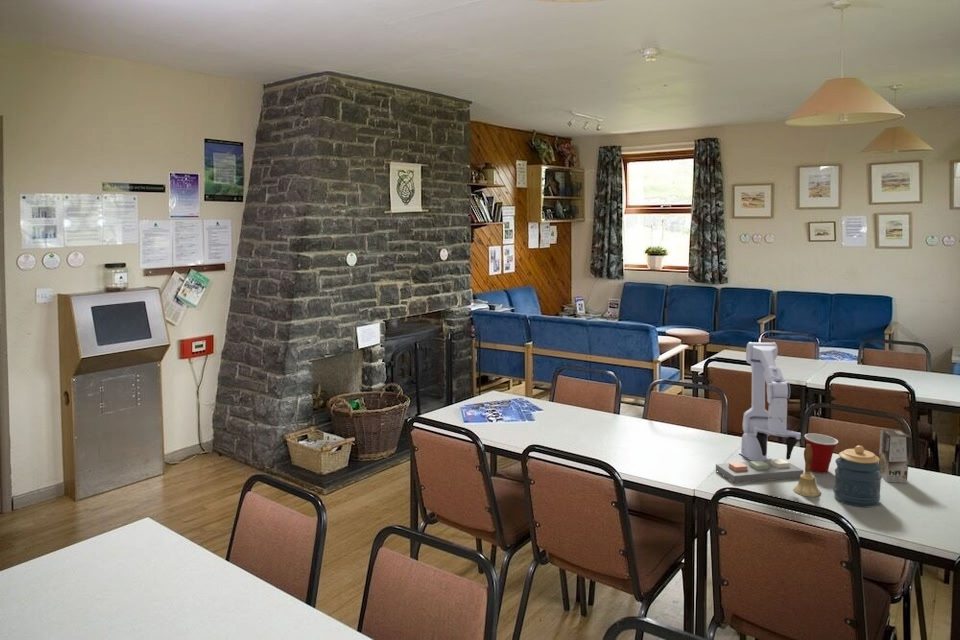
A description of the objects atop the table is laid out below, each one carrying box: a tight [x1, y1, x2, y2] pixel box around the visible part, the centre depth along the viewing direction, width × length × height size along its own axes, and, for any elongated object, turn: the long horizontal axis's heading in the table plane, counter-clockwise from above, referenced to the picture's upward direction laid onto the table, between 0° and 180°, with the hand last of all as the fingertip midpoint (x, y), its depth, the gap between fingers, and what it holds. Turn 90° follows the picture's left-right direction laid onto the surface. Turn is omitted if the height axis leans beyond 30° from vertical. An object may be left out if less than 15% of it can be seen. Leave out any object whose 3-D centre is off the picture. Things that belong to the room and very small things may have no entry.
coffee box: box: [878, 428, 911, 484], centre depth 236 cm, size 9×6×16 cm
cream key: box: [770, 458, 790, 468], centre depth 244 cm, size 4×4×2 cm
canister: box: [833, 445, 883, 508], centre depth 218 cm, size 13×13×18 cm
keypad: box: [715, 460, 804, 484], centre depth 242 cm, size 12×26×2 cm, turn 100°
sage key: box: [749, 460, 769, 470], centre depth 242 cm, size 4×4×2 cm
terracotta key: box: [728, 461, 747, 472], centre depth 241 cm, size 4×4×2 cm
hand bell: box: [792, 444, 822, 497], centre depth 225 cm, size 8×8×16 cm
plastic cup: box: [804, 432, 839, 474], centre depth 245 cm, size 11×11×12 cm
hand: (776, 456), depth 233 cm, fingers open, 7 cm apart
